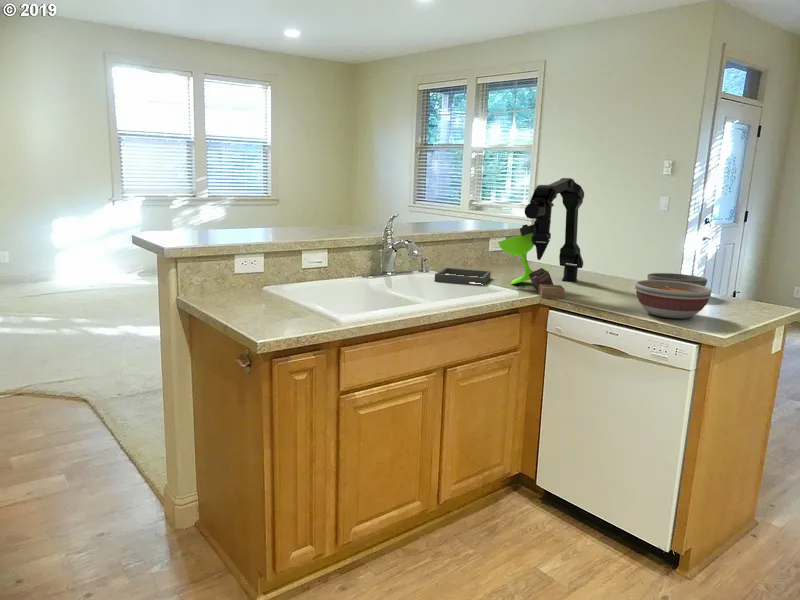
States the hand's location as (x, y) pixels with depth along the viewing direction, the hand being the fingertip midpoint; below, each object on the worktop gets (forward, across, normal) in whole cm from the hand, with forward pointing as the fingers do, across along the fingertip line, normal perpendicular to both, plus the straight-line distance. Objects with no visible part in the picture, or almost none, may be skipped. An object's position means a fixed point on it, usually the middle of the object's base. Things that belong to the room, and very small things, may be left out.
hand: (539, 258), depth 237 cm
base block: (+13, +12, +6) cm, 18 cm away
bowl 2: (+13, +28, +45) cm, 54 cm away
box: (+7, +1, 0) cm, 7 cm away
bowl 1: (+12, -13, +52) cm, 55 cm away
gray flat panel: (+12, 0, 0) cm, 12 cm away
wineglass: (+9, -8, -3) cm, 13 cm away
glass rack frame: (+12, -8, -31) cm, 34 cm away
